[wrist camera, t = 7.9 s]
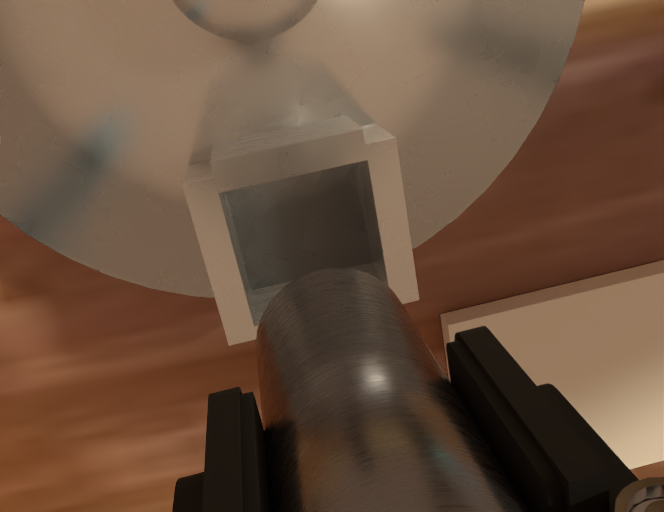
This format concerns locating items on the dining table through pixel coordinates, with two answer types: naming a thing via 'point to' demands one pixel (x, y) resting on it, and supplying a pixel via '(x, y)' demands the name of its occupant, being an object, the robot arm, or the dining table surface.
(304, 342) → the grey brown cylinder
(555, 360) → the plate
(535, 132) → the dining table surface
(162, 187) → the metal pot lid
